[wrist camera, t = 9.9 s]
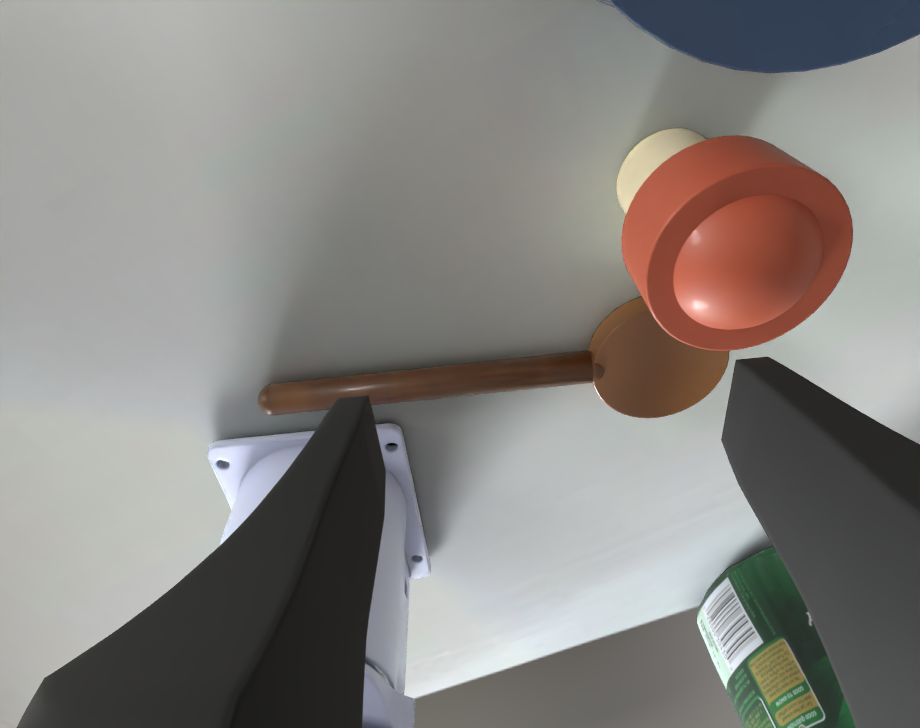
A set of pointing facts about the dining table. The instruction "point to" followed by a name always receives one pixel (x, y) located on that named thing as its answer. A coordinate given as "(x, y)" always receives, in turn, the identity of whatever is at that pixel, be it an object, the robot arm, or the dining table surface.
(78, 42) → the dining table surface
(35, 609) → the dining table surface
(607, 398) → the spoon
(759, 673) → the coffee jar
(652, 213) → the toy mushroom
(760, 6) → the pot lid
